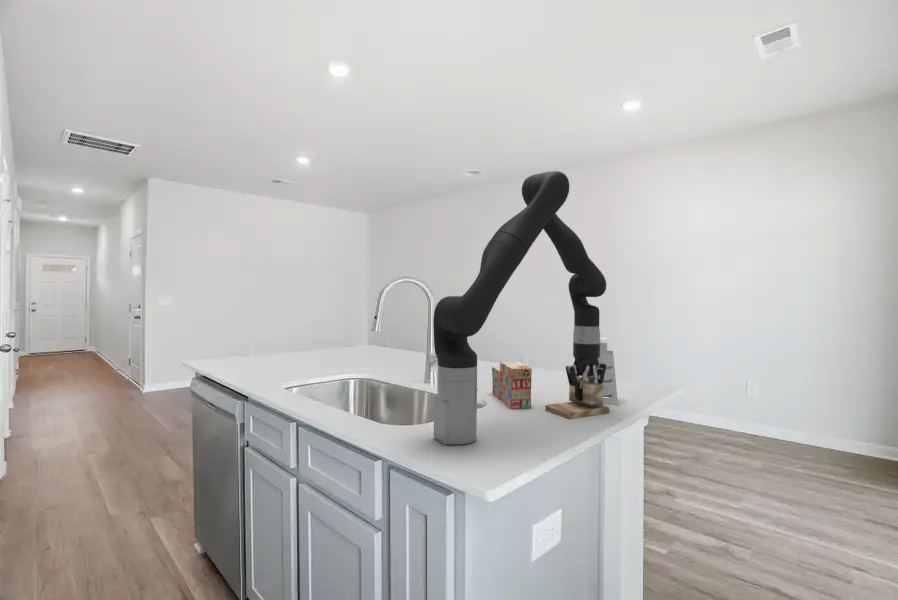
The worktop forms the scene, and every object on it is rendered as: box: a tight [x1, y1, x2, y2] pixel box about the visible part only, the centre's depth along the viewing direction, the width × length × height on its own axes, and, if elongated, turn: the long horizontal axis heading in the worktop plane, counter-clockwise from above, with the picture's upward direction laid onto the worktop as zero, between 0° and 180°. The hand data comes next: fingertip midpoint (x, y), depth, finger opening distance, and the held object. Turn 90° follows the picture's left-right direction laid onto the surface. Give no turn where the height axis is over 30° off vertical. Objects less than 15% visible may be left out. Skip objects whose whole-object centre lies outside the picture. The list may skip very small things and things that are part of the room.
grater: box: [586, 337, 619, 407], centre depth 147 cm, size 10×10×20 cm
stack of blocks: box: [491, 361, 533, 410], centre depth 146 cm, size 21×6×12 cm, turn 10°
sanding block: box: [568, 380, 604, 407], centre depth 135 cm, size 4×9×6 cm, turn 27°
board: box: [544, 401, 610, 420], centre depth 133 cm, size 15×10×2 cm, turn 117°
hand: (585, 399), depth 135 cm, fingers closed on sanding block, 4 cm apart
